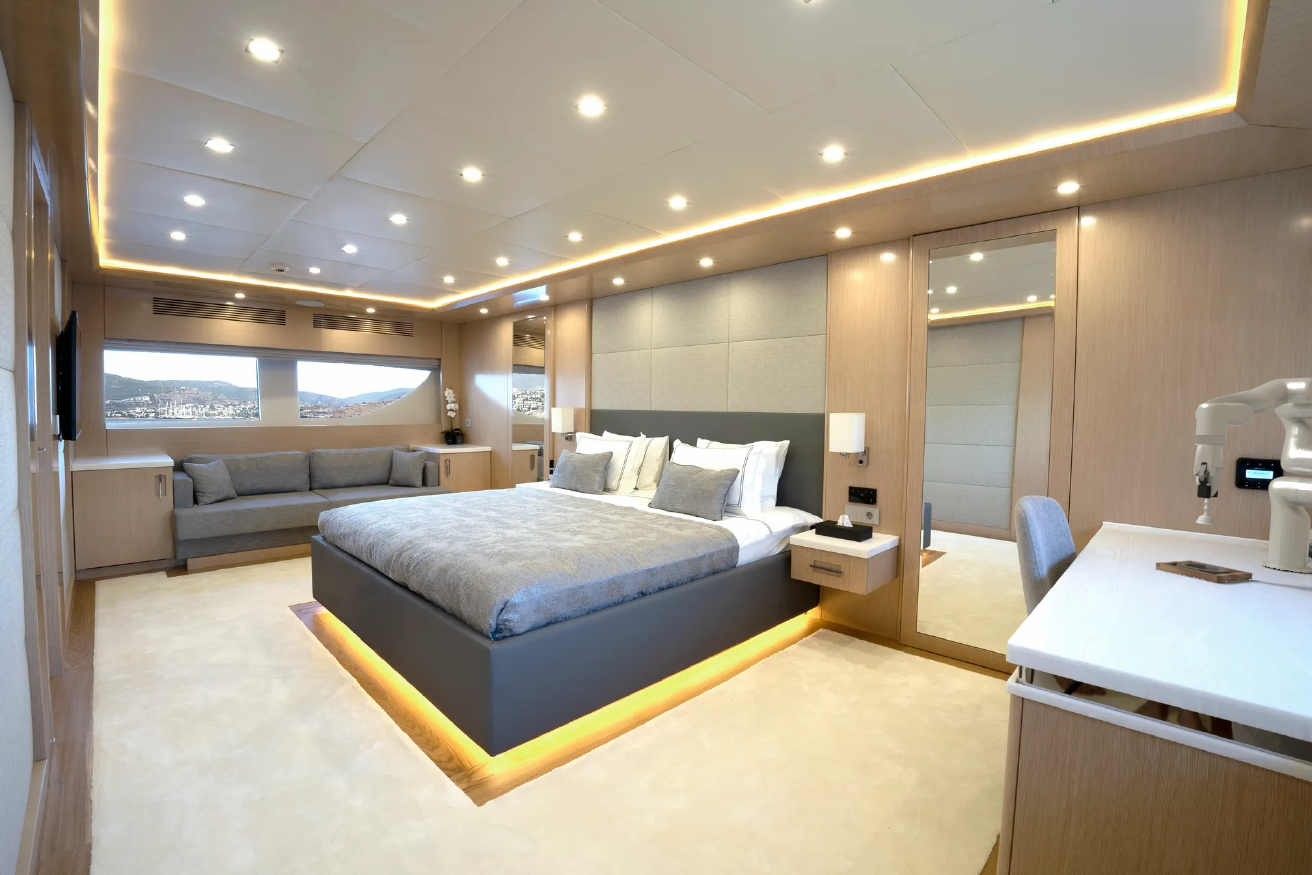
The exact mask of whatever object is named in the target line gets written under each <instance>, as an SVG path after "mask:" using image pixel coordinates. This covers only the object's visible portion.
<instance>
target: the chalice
mask: <svg viewBox="0 0 1312 875" xmlns="http://www.w3.org/2000/svg"><path fill="white" fill-rule="evenodd" d="M1224 469H1225V468H1223V467H1222V468H1221V469H1217V468H1216V473H1215V476H1214V477H1212V478H1211V483H1210V486H1211V496H1214V494H1215V493H1216V491H1217V490H1218V491H1219V489H1220V486H1221V485H1222V475H1223V471H1224ZM1209 473H1210V472H1209ZM1197 475H1198V474H1197ZM1205 475H1206V476H1209V474H1205ZM1198 478H1199V476H1195V479H1196V480H1195V483H1196V485H1197V487H1198ZM1207 481H1208V478H1207ZM1204 499H1205V500H1204V501H1203V503H1204V507H1203V509H1204V512H1203V514H1202V515H1199V516H1198V518H1197V519H1196V521H1195V523H1197V524H1201V525H1202V524H1203V525H1209V526H1210V525H1211V526H1214V525H1215V526H1216V525H1217V523H1216V520H1215V518H1214V517H1213V516H1211V515H1210V513H1209V512H1210V510H1211V508H1210V504H1211V501H1210V498H1204Z"/></svg>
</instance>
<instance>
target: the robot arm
mask: <svg viewBox="0 0 1312 875" xmlns="http://www.w3.org/2000/svg"><path fill="white" fill-rule="evenodd" d="M1273 410H1274V412H1275V414H1276V416H1277V417H1278V418H1279V420H1280V421H1281V422H1282V425H1283V427H1284V429H1285V437H1284V442H1283V447H1282V453H1281V457H1280V466H1281V469H1282V470H1283V471H1285V472H1287V473H1292V474H1299V475H1301V474H1302V475H1312V377H1291V378H1289V377H1288V378H1277V379H1272V380H1271V381H1268V382H1265V383H1264V384H1261V385H1259V386H1256V387H1254V388H1252V389H1249V390H1246V391H1245V390H1244V391H1238V392H1236V393H1232V394H1227V395H1223V396H1222V395H1221V396H1218V397H1215V398H1212V399H1209V400H1207V401H1205V402H1203V403H1200V404H1199V405H1198V406H1197V408H1196V410H1195V413H1194V417H1195V421H1196V424H1195V425H1196V426H1195V441H1194V442H1195V443H1194V445H1195V446H1197V447H1196V450H1195V456H1194V462H1193V463H1194V464H1193V473H1192V474H1193V476H1195V477H1196V476H1199V478H1198V486H1197V492H1196V497H1197V498H1199V499H1200V498H1201V499H1206V498H1209V499H1211V498H1218V496H1219V489H1218V490H1217V491H1216V493H1215V494H1214V496H1211V486H1210V483H1211V478H1212V477H1214V476H1215V473H1216V468H1217V469H1221V468H1223V463H1224V462H1223V461H1224V456H1223V455H1224V447H1227V445H1228V434H1229V433H1228V429H1229V427H1243V426H1244V427H1245V426H1247V425H1250V424H1251V423H1252V422H1253V421H1254V419H1255V417H1256V416H1255V415H1261V414H1262V415H1263V414H1266V413H1269V412H1271V411H1273ZM1209 472H1210V473H1209ZM1197 474H1198V475H1197ZM1205 474H1209V476H1206V475H1205ZM1207 478H1208V481H1207ZM1268 494H1269V495H1268V496H1269V500H1270V523H1269V524H1270V525H1269V538H1268V551H1267V560H1264V561H1261V564H1262V565H1263V567H1265V566H1267V567H1266V568H1268V567H1270V568H1269V569H1273V568H1276V569H1275V570H1278V569H1280V571H1283V570H1289V571H1288V572H1290V571H1293V572H1292V573H1300V572H1302V573H1301V574H1312V567H1310V566H1308V565H1309V564H1311V563H1312V558H1311V557H1309V552H1310V551H1309V550H1310V538H1311V537H1310V536H1311V525H1312V524H1311V523H1312V521H1311V519H1312V518H1311V517H1310V515H1309V513H1308V512H1307V510H1306V509H1305V507H1308V508H1312V478H1310V477H1301V476H1299V477H1298V476H1280V477H1279V476H1278V477H1276V478H1274V479H1273V480H1271V481H1270V483H1269V485H1268ZM1262 565H1261V566H1262Z"/></svg>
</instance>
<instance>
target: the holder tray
mask: <svg viewBox="0 0 1312 875" xmlns="http://www.w3.org/2000/svg"><path fill="white" fill-rule="evenodd" d="M1155 570H1158V571H1161V570H1163V571H1162V572H1166V573H1170V572H1172V573H1171V574H1174V573H1175V575H1179V574H1182V575H1181V576H1183V575H1185V576H1184V577H1189V578H1192V577H1195V578H1194V579H1196V578H1198V579H1197V580H1201V579H1204V580H1203V581H1205V580H1207V581H1206V582H1210V581H1213V582H1212V583H1214V582H1215V584H1220V583H1219V582H1223V583H1227V582H1226V581H1235V582H1243V581H1242V580H1246V581H1250V580H1249V579H1252V580H1253V572H1249V571H1244V570H1239V569H1235V568H1234V569H1233V568H1230V567H1224V566H1220V565H1214V564H1209V563H1204V562H1200V561H1196V560H1195V561H1194V560H1178V561H1177V560H1176V561H1175V560H1174V561H1163V562H1162V561H1160V562H1156V563H1155Z"/></svg>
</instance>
